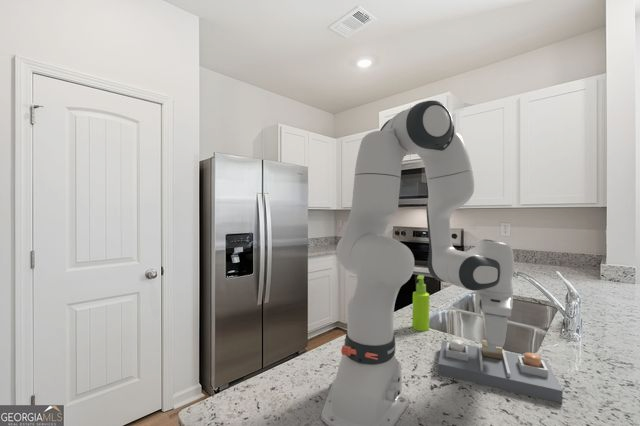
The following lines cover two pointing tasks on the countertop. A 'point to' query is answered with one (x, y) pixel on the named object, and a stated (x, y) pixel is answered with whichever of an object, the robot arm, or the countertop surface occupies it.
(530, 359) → the terracotta button
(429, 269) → the robot arm
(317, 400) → the countertop surface
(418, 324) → the soap dispenser
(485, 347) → the slider knob
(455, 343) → the white button
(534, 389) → the control panel
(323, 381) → the countertop surface
